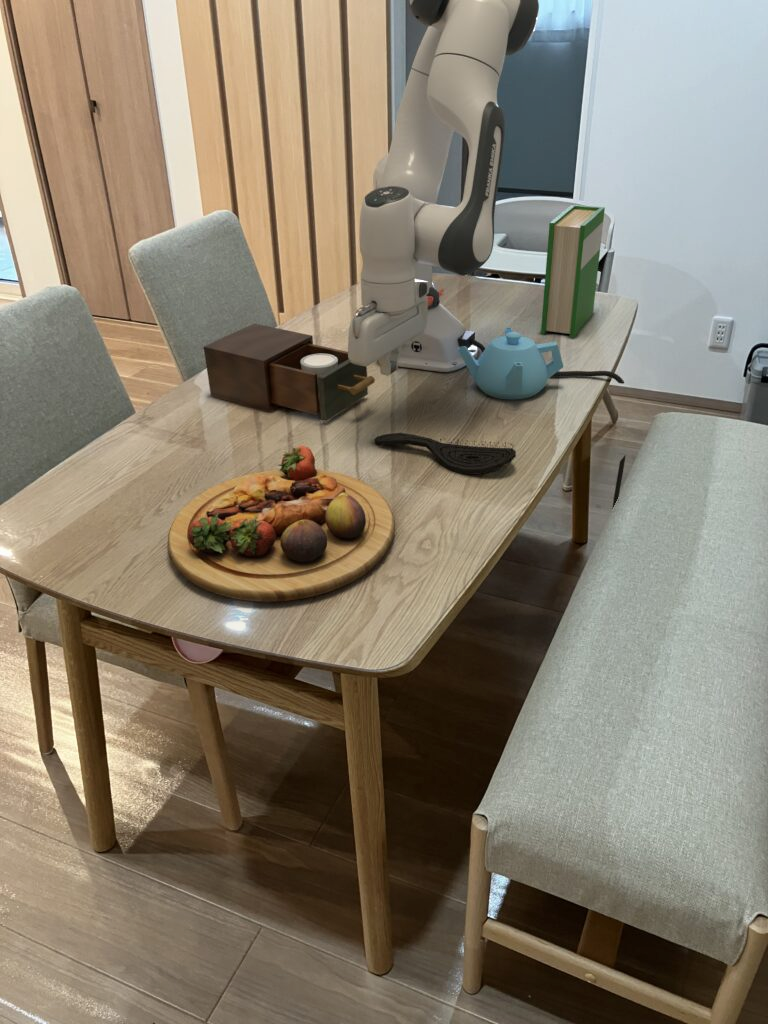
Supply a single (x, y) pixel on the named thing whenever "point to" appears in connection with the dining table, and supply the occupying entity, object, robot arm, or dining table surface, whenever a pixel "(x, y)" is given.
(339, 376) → the drawer
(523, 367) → the teapot
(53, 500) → the dining table surface
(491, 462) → the hairbrush
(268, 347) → the cabinet
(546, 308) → the hardback book
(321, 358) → the white cylinder
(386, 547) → the wooden plate
